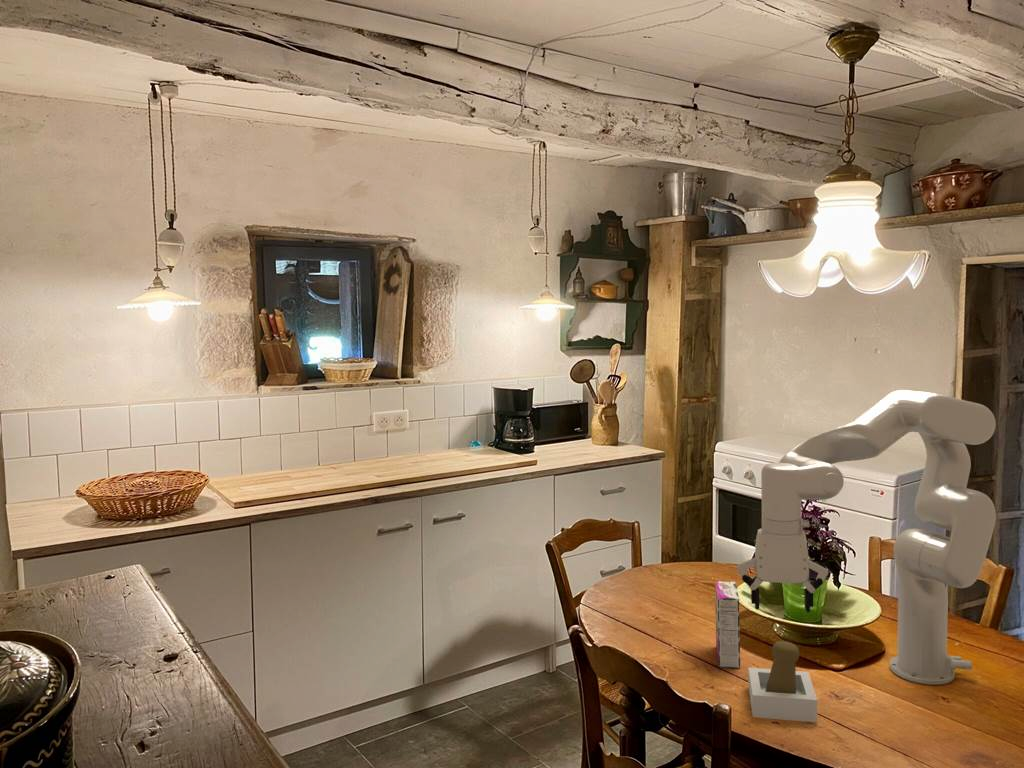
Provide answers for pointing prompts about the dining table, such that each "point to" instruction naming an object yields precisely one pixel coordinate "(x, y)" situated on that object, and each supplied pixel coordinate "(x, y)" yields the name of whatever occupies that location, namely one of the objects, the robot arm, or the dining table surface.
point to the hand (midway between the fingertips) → (781, 608)
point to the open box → (782, 698)
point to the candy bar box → (727, 624)
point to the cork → (783, 668)
